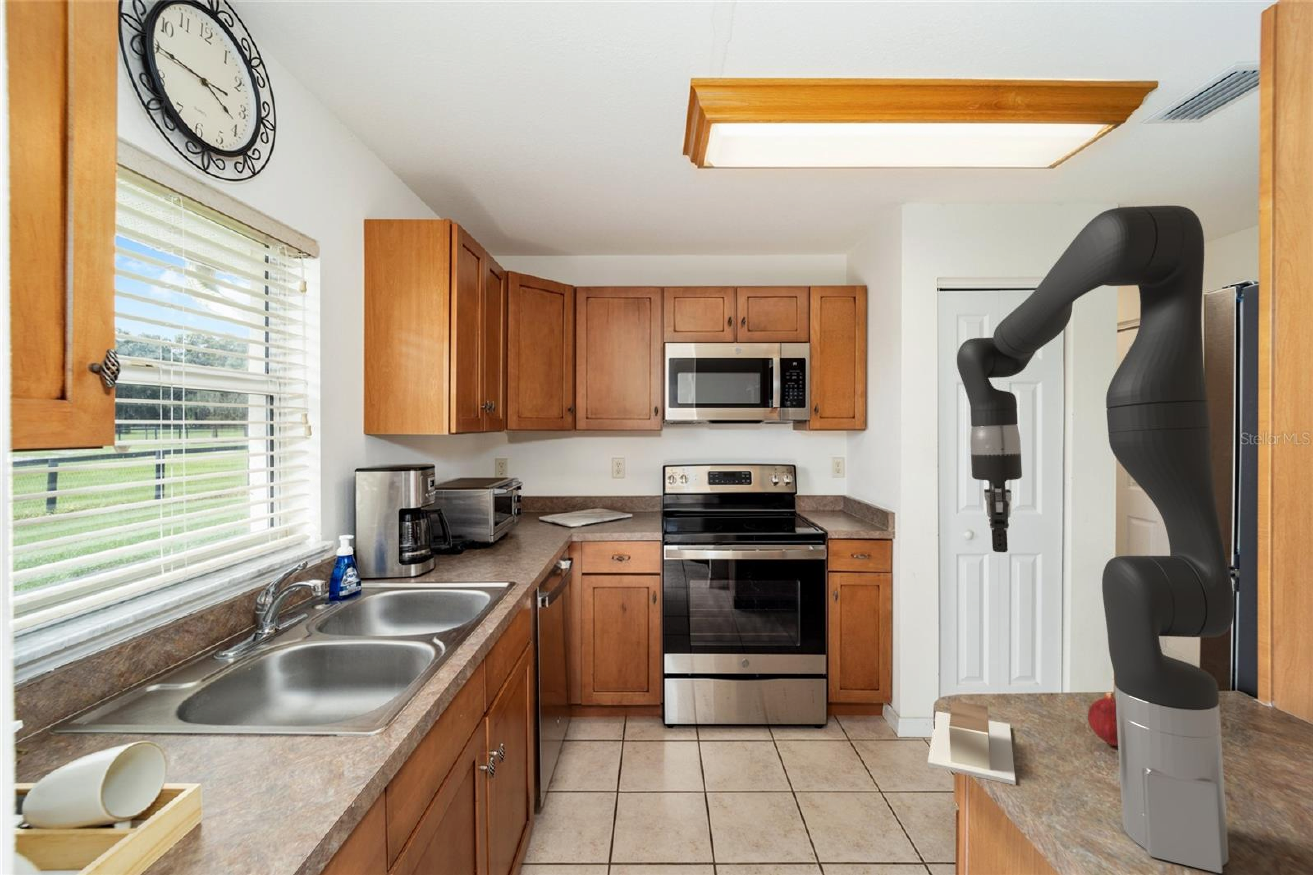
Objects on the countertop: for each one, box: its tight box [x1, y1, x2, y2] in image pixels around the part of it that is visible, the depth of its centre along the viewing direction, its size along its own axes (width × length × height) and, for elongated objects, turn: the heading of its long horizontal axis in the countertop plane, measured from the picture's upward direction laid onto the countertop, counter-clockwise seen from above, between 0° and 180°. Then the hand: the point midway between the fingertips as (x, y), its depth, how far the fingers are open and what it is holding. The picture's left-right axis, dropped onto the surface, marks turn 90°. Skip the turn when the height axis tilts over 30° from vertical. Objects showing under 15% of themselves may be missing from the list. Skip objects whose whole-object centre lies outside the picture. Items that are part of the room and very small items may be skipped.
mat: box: [927, 711, 1016, 786], centre depth 90 cm, size 18×11×1 cm, turn 150°
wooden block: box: [949, 700, 990, 770], centre depth 88 cm, size 5×5×10 cm
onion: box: [1087, 691, 1118, 747], centre depth 88 cm, size 6×6×8 cm
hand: (1000, 551), depth 100 cm, fingers closed
